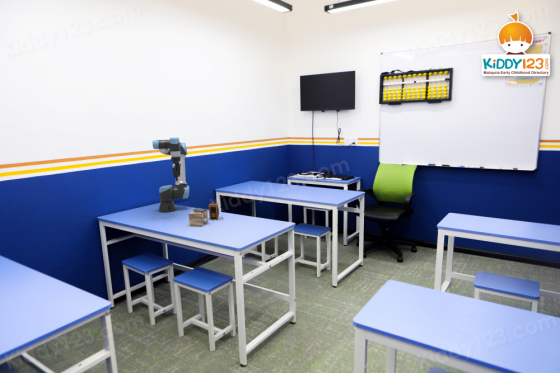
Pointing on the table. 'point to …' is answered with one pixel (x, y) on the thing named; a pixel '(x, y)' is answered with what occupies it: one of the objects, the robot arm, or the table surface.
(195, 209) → the keeper flap
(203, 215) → the hitch block
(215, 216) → the multimeter
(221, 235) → the table surface
